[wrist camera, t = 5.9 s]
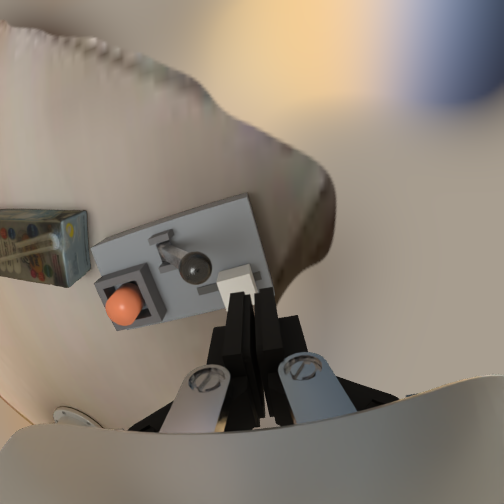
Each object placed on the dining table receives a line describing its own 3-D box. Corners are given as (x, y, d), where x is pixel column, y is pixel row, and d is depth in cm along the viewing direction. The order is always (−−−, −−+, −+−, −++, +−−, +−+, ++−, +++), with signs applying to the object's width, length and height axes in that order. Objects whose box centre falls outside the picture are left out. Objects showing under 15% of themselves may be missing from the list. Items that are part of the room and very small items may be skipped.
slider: (257, 291, 28) (258, 303, 26) (228, 299, 29) (226, 311, 26) (249, 263, 27) (249, 273, 25) (218, 271, 28) (216, 282, 25)
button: (150, 307, 28) (141, 322, 25) (124, 313, 28) (114, 328, 25) (137, 279, 27) (127, 292, 24) (112, 286, 27) (100, 299, 24)
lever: (178, 256, 28) (222, 279, 19) (157, 265, 27) (191, 294, 18) (170, 235, 27) (211, 248, 18) (149, 244, 26) (179, 261, 17)
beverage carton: (93, 272, 32) (67, 295, 26) (-1, 259, 32) (-28, 274, 25) (89, 208, 30) (58, 220, 24) (-7, 208, 29) (-37, 218, 23)
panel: (271, 279, 33) (277, 305, 27) (137, 313, 34) (120, 340, 28) (247, 192, 30) (247, 200, 24) (106, 238, 31) (80, 254, 25)
